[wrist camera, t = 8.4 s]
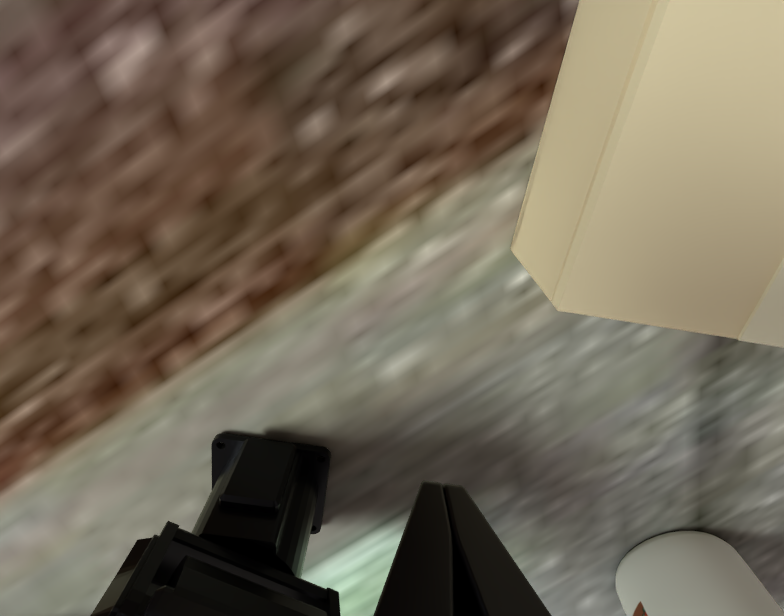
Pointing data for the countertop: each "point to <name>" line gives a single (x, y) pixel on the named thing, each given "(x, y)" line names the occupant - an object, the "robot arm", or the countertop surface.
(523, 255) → the cardboard box
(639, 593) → the milk bottle
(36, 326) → the countertop surface
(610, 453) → the countertop surface
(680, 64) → the lid
